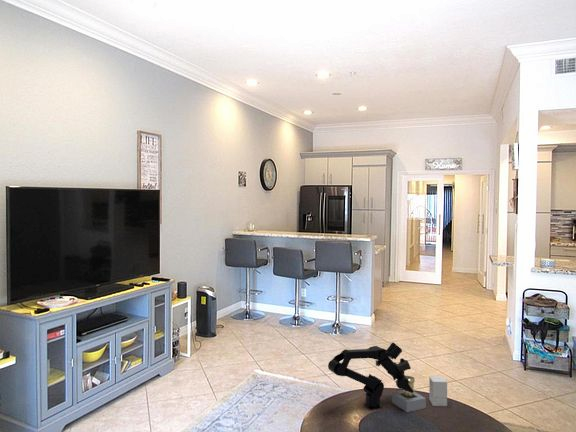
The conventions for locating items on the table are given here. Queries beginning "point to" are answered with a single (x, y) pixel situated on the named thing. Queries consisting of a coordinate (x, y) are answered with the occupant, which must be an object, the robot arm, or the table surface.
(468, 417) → the table surface
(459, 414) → the table surface
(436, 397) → the supplement box
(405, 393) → the brass bushing
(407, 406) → the block
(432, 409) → the table surface
